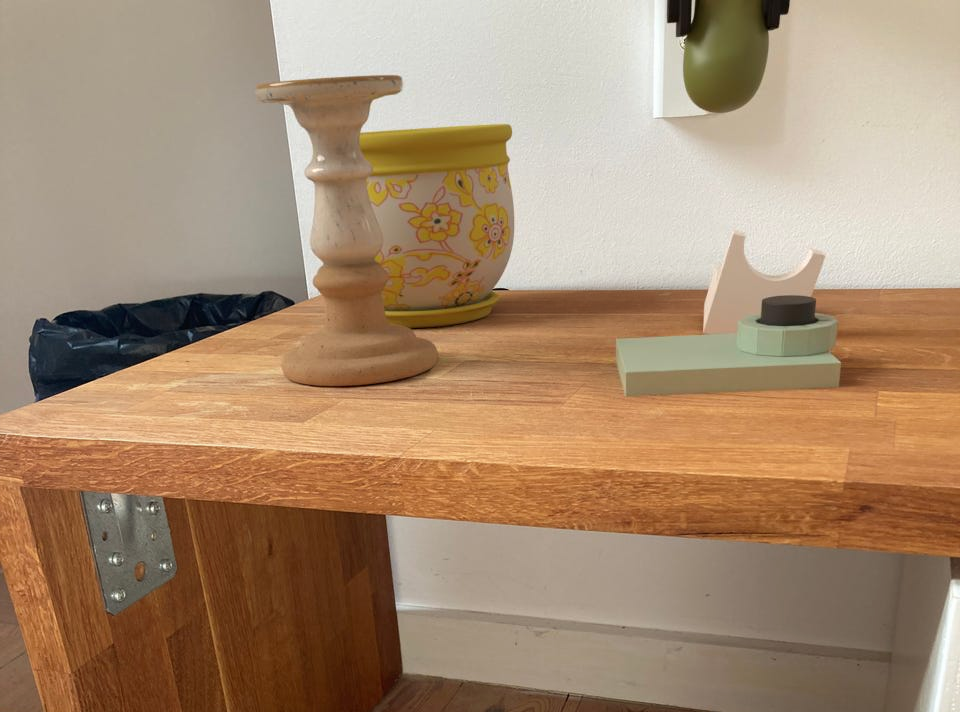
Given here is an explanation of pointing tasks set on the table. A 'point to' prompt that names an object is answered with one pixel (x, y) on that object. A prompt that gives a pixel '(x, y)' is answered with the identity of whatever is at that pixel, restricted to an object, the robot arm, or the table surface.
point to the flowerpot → (441, 220)
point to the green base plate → (732, 359)
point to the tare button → (788, 310)
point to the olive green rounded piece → (725, 53)
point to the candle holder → (346, 240)
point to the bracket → (751, 286)
